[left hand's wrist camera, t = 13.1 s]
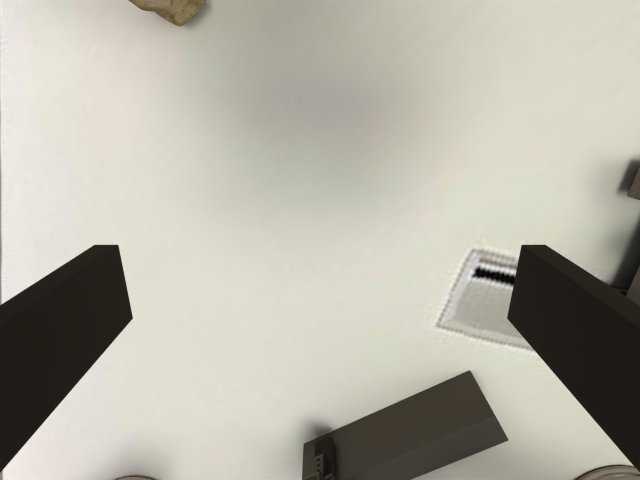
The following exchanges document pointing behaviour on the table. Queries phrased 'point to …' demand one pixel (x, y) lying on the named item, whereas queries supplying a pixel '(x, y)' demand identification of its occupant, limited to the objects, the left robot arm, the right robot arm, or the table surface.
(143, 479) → the bust sculpture
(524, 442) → the table surface
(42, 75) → the table surface
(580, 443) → the table surface
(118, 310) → the left robot arm
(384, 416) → the bar
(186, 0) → the sculpture
